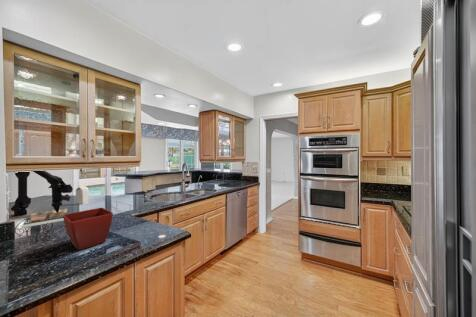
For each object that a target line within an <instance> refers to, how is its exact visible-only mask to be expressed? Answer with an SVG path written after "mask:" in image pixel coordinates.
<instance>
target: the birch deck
mask: <svg viewBox="0 0 476 317" xmlns="http://www.w3.org/2000/svg"><path fill="white" fill-rule="evenodd" d="M59 212H64V214H66V213H68V208H62V209H60V208H59ZM59 212H58V213H59ZM52 213H57V212H56V211H55V209H54V210H48V211H47V210H46V211H40V212H35V213H30V216H29V217H28V219H31V218H32V217H33V216H39V215H46V214H47V216H50V214H52Z"/></svg>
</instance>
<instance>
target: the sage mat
mask: <svg viewBox="0 0 476 317" xmlns="http://www.w3.org/2000/svg"><path fill="white" fill-rule="evenodd" d="M55 218H56V219H53V218H48V220H47V219H44V220H45V221H41V220H37V221H38V222H35V221H29V222H25V223H23V224H22V226H21V229H24V228H31V227H35V226H41V225H42V226H43V225H47V223H48V224H52V223H58V222H62V221H63V222H64V218H59V217H55ZM49 219H50V220H49ZM30 222H32V223H30Z"/></svg>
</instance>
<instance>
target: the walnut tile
mask: <svg viewBox="0 0 476 317" xmlns="http://www.w3.org/2000/svg"><path fill="white" fill-rule="evenodd" d="M63 215H65V213H64V212H59V213H52V214H50V215H48V219H49V220H50V219H56V218H63Z"/></svg>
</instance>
